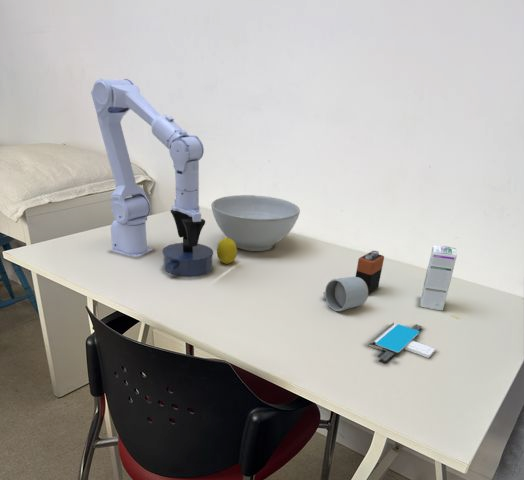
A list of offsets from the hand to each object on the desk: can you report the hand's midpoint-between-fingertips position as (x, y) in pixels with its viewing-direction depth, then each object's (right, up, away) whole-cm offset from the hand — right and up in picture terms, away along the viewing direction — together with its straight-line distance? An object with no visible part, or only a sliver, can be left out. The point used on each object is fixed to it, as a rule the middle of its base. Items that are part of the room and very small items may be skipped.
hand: (187, 241), depth 131 cm
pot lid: (0, -3, +2) cm, 3 cm away
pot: (0, -7, +4) cm, 8 cm away
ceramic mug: (+39, -18, -9) cm, 44 cm away
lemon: (+10, -5, +9) cm, 14 cm away
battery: (+47, -13, 0) cm, 49 cm away
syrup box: (+63, -17, -5) cm, 65 cm away
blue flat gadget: (+50, -28, -25) cm, 63 cm away
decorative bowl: (+17, +4, +25) cm, 31 cm away
